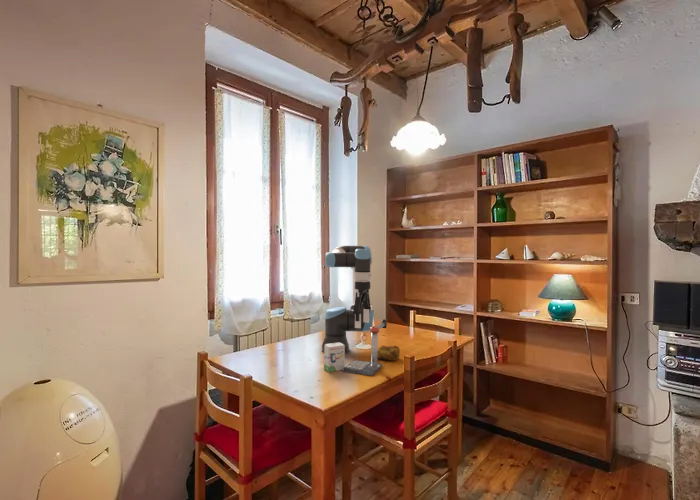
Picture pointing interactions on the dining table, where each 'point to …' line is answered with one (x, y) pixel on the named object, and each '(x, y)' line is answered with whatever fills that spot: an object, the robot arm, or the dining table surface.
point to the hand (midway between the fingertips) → (362, 325)
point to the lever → (379, 326)
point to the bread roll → (388, 353)
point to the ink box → (334, 357)
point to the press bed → (365, 366)
